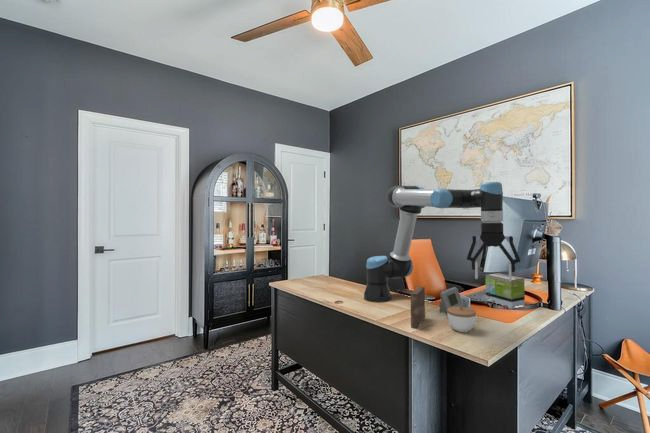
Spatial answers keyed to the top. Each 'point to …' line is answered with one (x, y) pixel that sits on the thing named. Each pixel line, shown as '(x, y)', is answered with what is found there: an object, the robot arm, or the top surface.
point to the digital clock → (450, 299)
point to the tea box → (505, 290)
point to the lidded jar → (461, 318)
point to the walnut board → (417, 306)
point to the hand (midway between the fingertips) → (493, 279)
